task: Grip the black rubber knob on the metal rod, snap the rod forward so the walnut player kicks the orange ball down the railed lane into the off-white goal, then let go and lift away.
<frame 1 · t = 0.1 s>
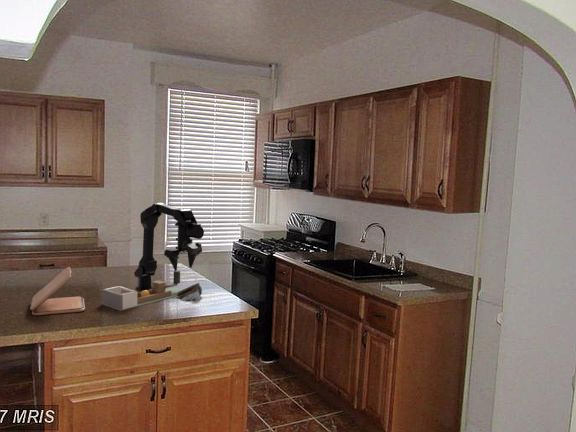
hand: (183, 269, 231), 15 cm above the worktop, tool pointing down, fingers open, 9 cm apart
goal: (121, 305, 220), resting on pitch
sled: (167, 282, 240), point 5 cm above the worktop, slide at 0.0 cm
ball: (145, 294, 230), point 2 cm above the worktop, touching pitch
chocolate cake: (189, 299, 235), on the worktop
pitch: (148, 298, 232), on the worktop
case: (58, 308, 213), on the worktop
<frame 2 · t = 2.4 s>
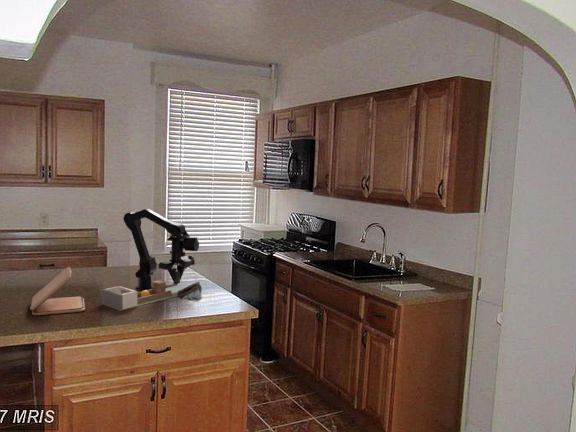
hand: (176, 280, 245), 6 cm above the worktop, tool pointing down, fingers closed on sled, 3 cm apart
sled: (167, 282, 240), point 5 cm above the worktop, slide at 0.0 cm, touching gripper
chocolate cake: (190, 298, 237), on the worktop
everything else where it was.
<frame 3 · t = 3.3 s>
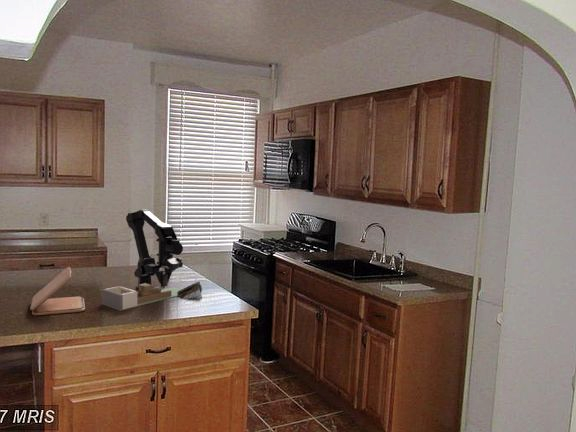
hand: (164, 283, 239), 6 cm above the worktop, tool pointing down, fingers open, 3 cm apart
sled: (154, 285, 234), point 5 cm above the worktop, slide at 7.9 cm
ball: (127, 298, 222), point 2 cm above the worktop, tilted 88°, touching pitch
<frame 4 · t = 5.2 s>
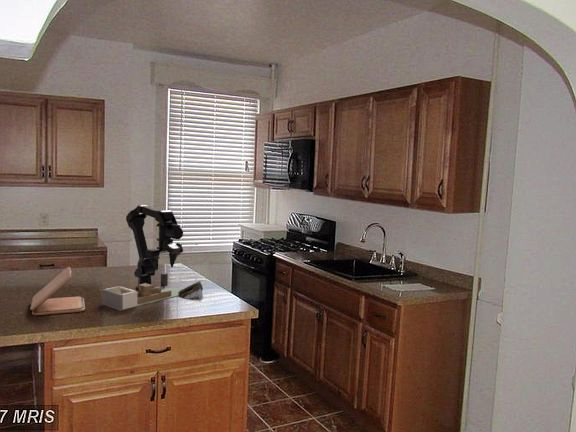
hand: (164, 268, 238), 13 cm above the worktop, tool pointing down, fingers open, 9 cm apart
ball: (119, 300, 219), point 2 cm above the worktop, tilted 29°, touching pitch
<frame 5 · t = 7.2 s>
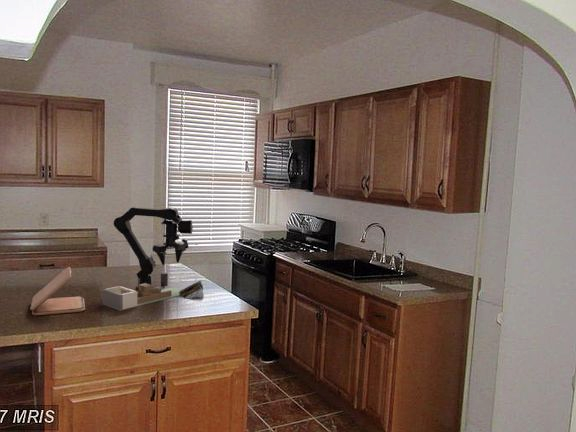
hand: (170, 263, 248), 13 cm above the worktop, tool pointing down, fingers open, 9 cm apart
ball: (121, 299, 220), point 2 cm above the worktop, touching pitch
at the end: ball inside the target area (0.1 cm from its centre), point 2.3 cm above the worktop; sled slide at 7.9 cm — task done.
